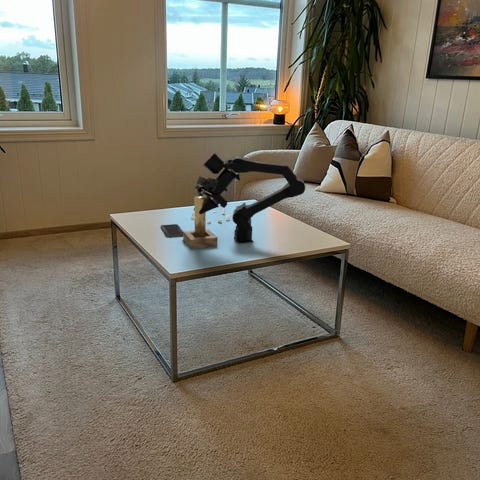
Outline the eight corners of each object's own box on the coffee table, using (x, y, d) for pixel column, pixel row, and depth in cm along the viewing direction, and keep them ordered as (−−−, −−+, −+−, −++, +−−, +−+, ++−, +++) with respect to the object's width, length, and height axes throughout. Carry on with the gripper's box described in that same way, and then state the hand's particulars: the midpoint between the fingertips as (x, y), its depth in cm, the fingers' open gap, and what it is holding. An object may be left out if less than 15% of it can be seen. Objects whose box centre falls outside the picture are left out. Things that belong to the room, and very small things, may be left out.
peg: (203, 228, 191) (203, 195, 187) (207, 232, 188) (207, 198, 183) (193, 230, 189) (192, 196, 185) (196, 233, 186) (196, 199, 181)
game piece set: (187, 213, 232) (187, 205, 230) (226, 211, 237) (226, 204, 236) (194, 225, 214) (194, 217, 213) (236, 223, 219) (236, 215, 218)
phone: (166, 235, 196) (160, 225, 209) (166, 238, 196) (160, 227, 209) (185, 234, 198) (177, 223, 211) (185, 237, 199) (177, 226, 212)
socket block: (208, 236, 198) (208, 229, 197) (217, 245, 189) (217, 237, 188) (183, 239, 194) (183, 231, 193) (191, 248, 185) (191, 240, 184)
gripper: (199, 164, 190) (174, 194, 188) (220, 173, 174) (193, 205, 173) (216, 182, 196) (192, 210, 194) (238, 192, 181) (212, 223, 179)
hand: (196, 212), depth 185 cm, fingers closed on peg, 4 cm apart
